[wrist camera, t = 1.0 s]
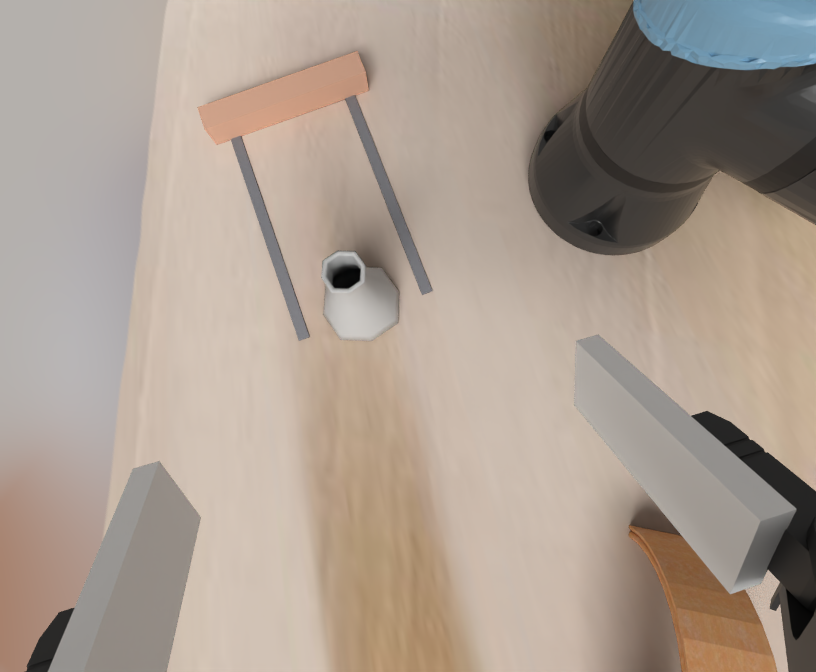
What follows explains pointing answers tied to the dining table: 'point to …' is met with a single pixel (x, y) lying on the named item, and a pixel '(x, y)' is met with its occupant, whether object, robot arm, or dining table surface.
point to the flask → (358, 297)
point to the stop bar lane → (285, 103)
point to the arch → (705, 610)
